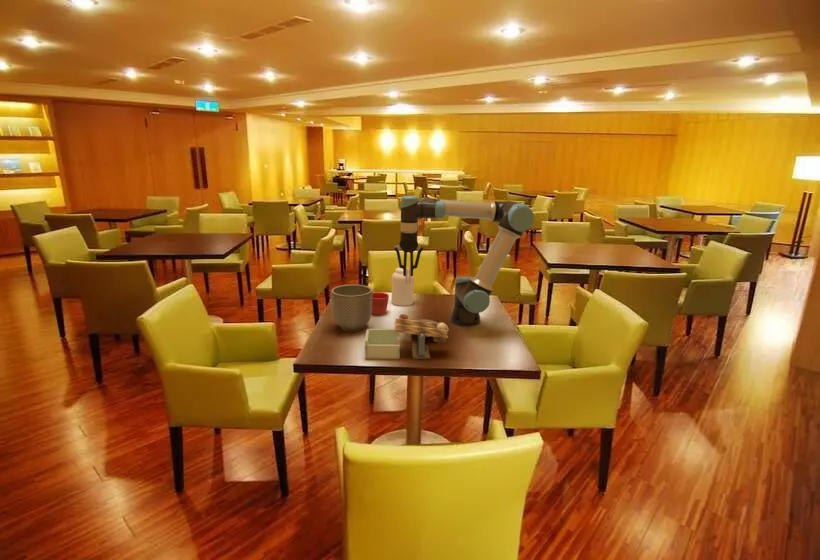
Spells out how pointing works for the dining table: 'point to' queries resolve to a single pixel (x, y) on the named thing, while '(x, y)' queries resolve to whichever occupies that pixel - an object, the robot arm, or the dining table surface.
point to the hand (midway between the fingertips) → (407, 282)
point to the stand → (420, 348)
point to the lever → (420, 328)
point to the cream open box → (382, 344)
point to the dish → (427, 321)
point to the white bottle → (402, 288)
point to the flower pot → (379, 303)
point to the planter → (352, 306)
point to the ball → (441, 326)
